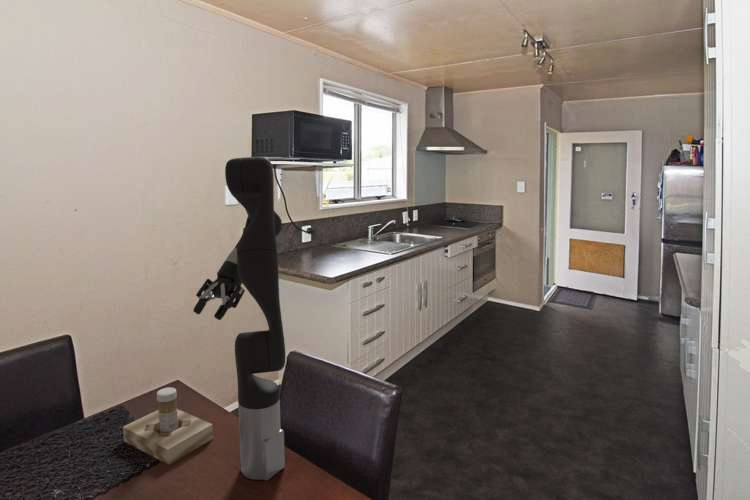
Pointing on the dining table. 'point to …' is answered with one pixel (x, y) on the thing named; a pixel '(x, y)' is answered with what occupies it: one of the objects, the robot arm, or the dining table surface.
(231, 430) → the dining table surface
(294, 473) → the dining table surface
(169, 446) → the spice caddy
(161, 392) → the sprinkles bottle
